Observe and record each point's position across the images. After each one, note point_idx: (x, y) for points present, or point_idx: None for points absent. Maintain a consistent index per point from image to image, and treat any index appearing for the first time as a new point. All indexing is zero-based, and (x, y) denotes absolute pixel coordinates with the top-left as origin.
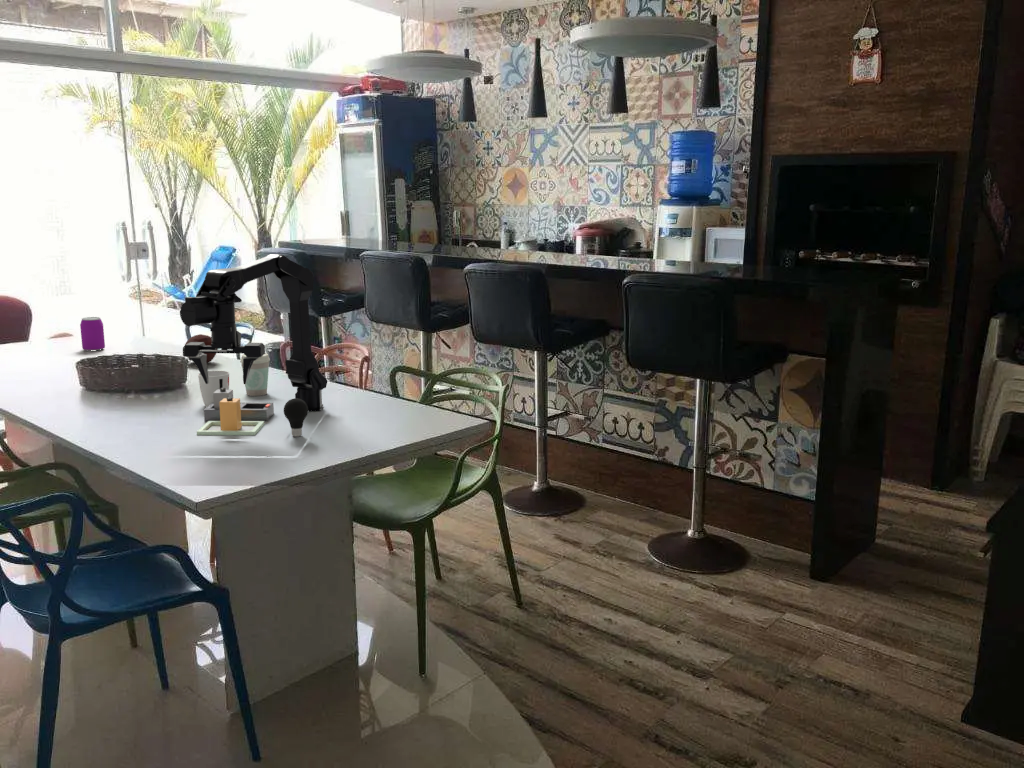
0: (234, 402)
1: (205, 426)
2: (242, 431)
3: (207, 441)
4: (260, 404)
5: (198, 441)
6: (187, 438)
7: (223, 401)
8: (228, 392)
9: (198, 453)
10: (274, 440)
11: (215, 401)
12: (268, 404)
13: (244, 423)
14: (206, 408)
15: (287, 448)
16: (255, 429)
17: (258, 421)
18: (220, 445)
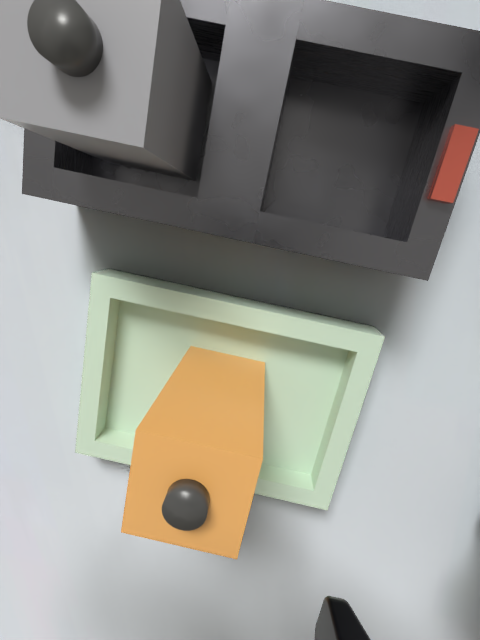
0: (227, 555)
1: (96, 379)
2: (273, 493)
3: None
4: (401, 64)
5: (104, 469)
6: (52, 420)
7: (147, 521)
8: (138, 122)
9: (132, 598)
10: (399, 521)
11: (62, 139)
12: (463, 142)
13: (279, 332)
14: (31, 160)
15: (435, 620)
16: (332, 477)
17: (353, 336)
18: None
